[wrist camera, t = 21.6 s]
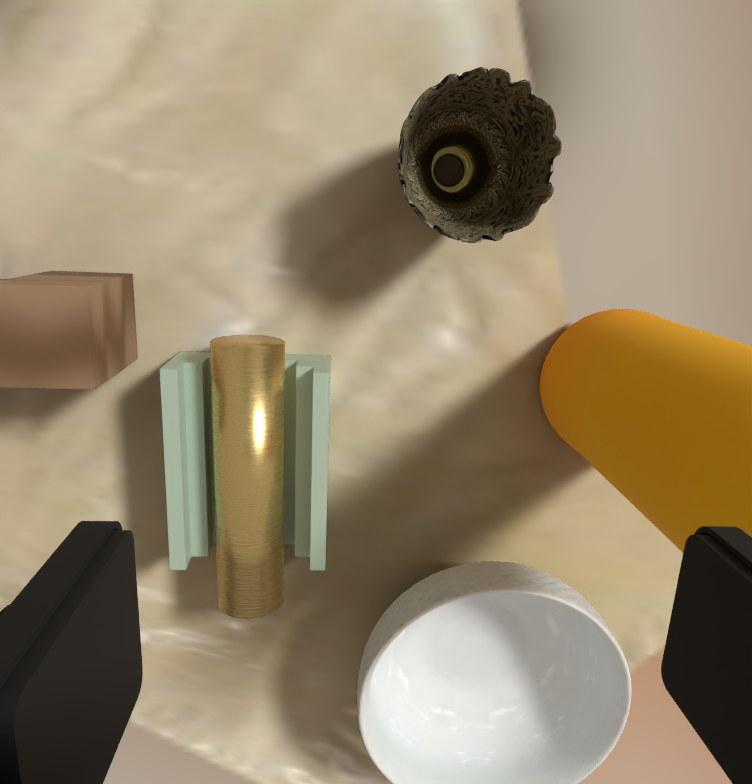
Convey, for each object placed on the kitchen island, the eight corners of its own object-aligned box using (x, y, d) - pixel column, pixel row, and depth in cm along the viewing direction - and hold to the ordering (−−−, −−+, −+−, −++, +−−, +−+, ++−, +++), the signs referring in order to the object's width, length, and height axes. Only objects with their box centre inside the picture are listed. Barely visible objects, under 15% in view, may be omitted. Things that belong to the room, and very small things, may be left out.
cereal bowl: (304, 646, 44) (298, 726, 37) (470, 481, 41) (498, 533, 34) (473, 769, 47) (497, 861, 41) (635, 624, 45) (689, 697, 38)
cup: (396, 88, 34) (414, 50, 27) (525, 111, 35) (578, 82, 27) (375, 226, 36) (386, 229, 28) (498, 246, 37) (541, 254, 29)
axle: (222, 333, 36) (199, 346, 32) (291, 336, 36) (276, 351, 32) (228, 578, 40) (208, 615, 36) (289, 582, 40) (276, 620, 36)
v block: (179, 351, 37) (159, 368, 33) (330, 355, 38) (330, 373, 34) (187, 532, 41) (170, 569, 36) (326, 533, 41) (325, 570, 37)
